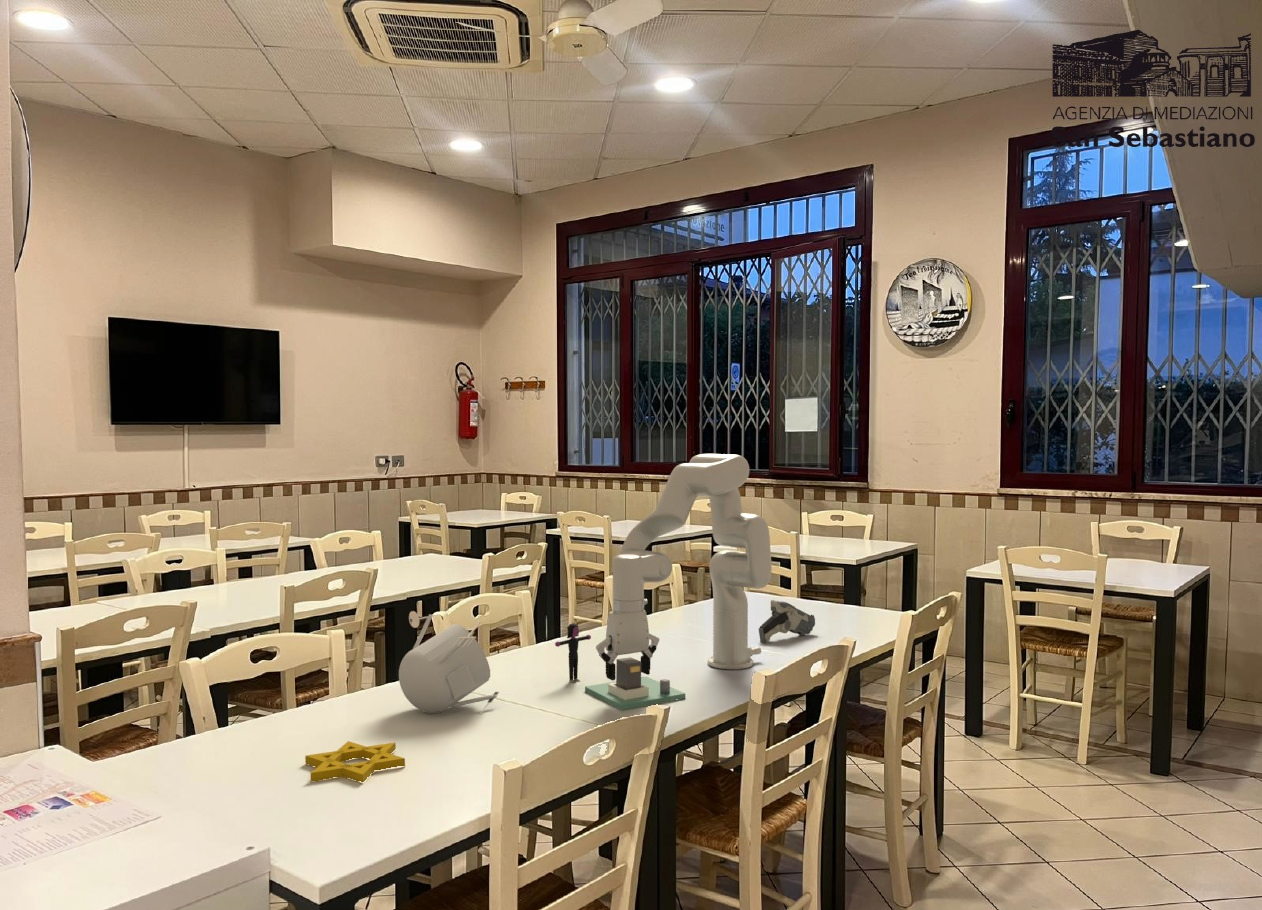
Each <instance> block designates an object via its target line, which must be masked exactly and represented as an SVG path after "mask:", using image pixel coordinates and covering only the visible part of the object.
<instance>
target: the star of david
mask: <svg viewBox="0 0 1262 910" xmlns="http://www.w3.org/2000/svg"><path fill="white" fill-rule="evenodd" d="M396 747H397V746H396V742H388V743H382V744H375V745H368V746H365V745H363V744H359V743H356V742H352V741H346V743H344V744H342V745H341V747H339V748H338V749H337V750H334V751H328V752H319V753H314V754H308V755H307V754H306V755H305V757H304V759H305V763H306V764H309V765H311V766H310V767H312V766H315V767H317V768H315V767H314V768H315V769H314V770H312V771H311V772H310V782H311V781H316V782H320V781H319V780H323V779H329V778H333V777H342V778H344V777H347V778H350V779H353V780H356V781H361V782H364V781H365V780H366V779H367V777H369V776H370V774H371V773H373V772H374V770H381V769H386V768H391V767H397V766H405V767H406V758H405V757H401V756H399V755H395V754H391V753H392V752H393V751H394V750H395V749H396ZM362 757H364V758H369V759H370V760H365V761H361V762H354V763H348V764H347V763H344V762H347V761H346V760H349V759H352V758H362ZM342 761H344V762H342ZM341 762H342V763H341ZM306 764H305V765H306ZM309 765H308V766H309ZM347 778H346V779H347ZM350 779H349V780H350ZM329 780H330V779H329ZM323 781H324V780H323Z"/></svg>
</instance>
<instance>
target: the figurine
mask: <svg viewBox="0 0 1262 910" xmlns="http://www.w3.org/2000/svg"><path fill="white" fill-rule="evenodd" d="M579 629H580V628H579V625H578V624H577V623H575V622H574V623H573V622H571V623H570V624H569V625H568V626H567V636H566V638H567V639H566V640H562V641H555V643H554V645H555V647H560V646H564V645H568V670H569V671H568V673H569V682H570V683H574V684H575V683H576V682H581V680H580V679H579V678H578V669H579V653H578V651H579V642H581V641H586V640H591V639H592V636H591V635H590V634H587V635H585V636H581V637H580V636H579V634H580V630H579Z"/></svg>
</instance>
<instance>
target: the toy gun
mask: <svg viewBox="0 0 1262 910" xmlns="http://www.w3.org/2000/svg"><path fill="white" fill-rule="evenodd" d="M770 611H771V616H770V617H769V618H768V619H767V620H766V621H764V622H763V623H762V624H761V625H760V626H759V627H758V635H759V641H760V643H763V644H766V643H769V642H770V640H771V637H773V636H774V635H776V634H777V633H781V634H787V633H788V632H790V633H793V634H795V635H799V636H802V637H805V636H806V635H809V634H811V632H813V629H814V628H815V625H816V618H815V615H814V614H808V613H806V612H805V611H802V610H800V609H798V608H797V607H796V606H795V605H792V604H791V603H788V602H786V601H779V600H775V599H771V601H770Z"/></svg>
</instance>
